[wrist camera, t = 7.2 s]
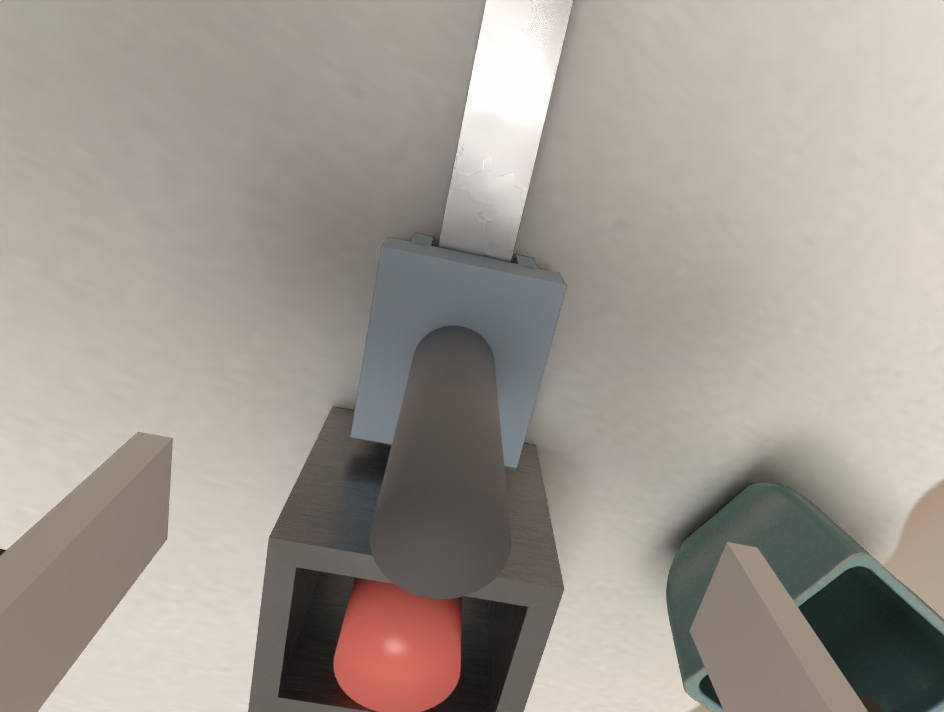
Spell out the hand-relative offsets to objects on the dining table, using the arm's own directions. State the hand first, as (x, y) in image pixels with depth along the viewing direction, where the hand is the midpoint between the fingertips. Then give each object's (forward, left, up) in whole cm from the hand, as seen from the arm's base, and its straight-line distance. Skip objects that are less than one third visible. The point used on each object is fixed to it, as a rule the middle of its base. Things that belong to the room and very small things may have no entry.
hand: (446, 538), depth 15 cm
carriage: (0, 0, -15) cm, 15 cm away
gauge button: (+9, 0, -9) cm, 13 cm away
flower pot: (+8, +17, -15) cm, 24 cm away
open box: (+9, 0, -15) cm, 17 cm away
